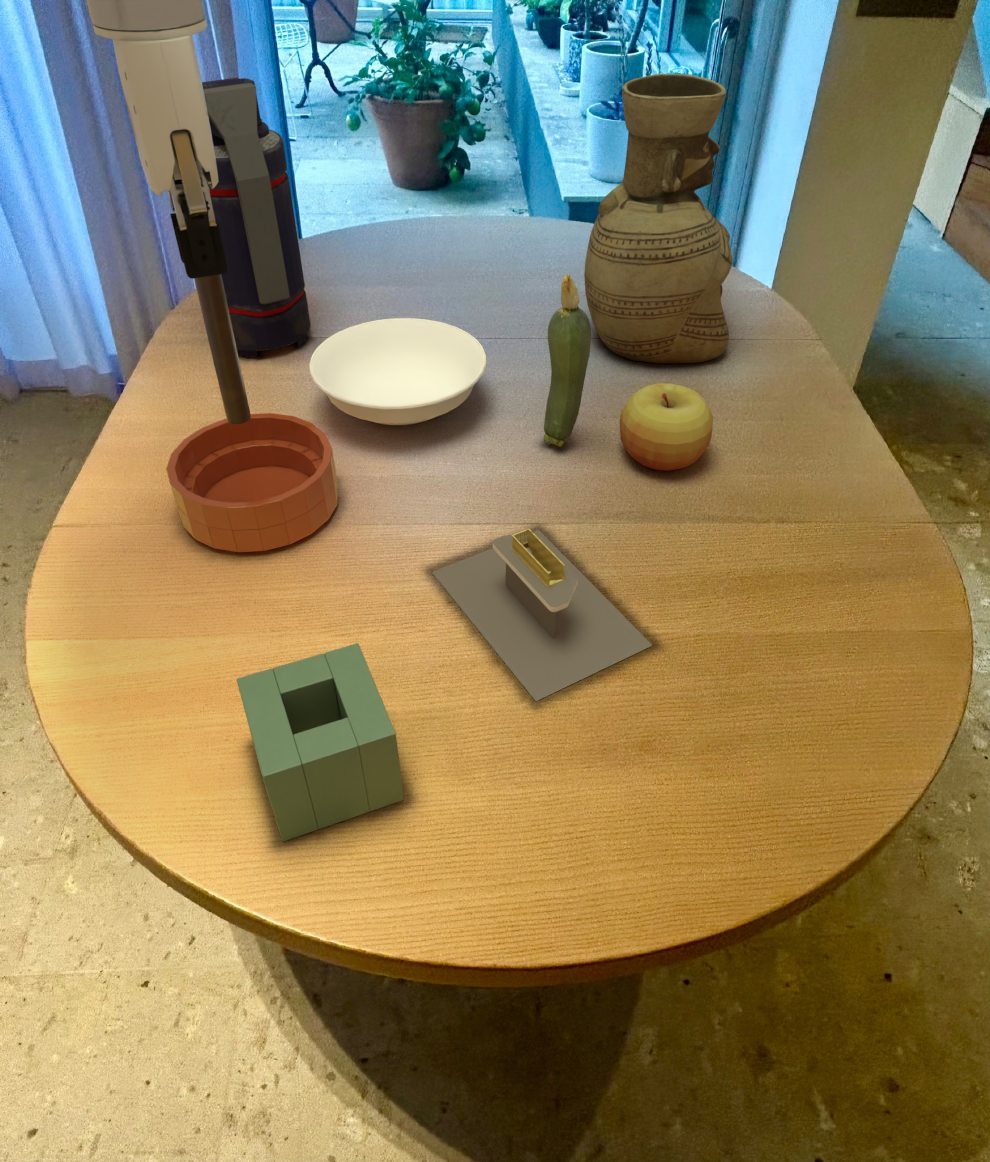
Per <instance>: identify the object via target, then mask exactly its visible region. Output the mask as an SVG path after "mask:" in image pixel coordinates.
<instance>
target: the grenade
mask: <svg viewBox="0 0 990 1162" xmlns="http://www.w3.org/2000/svg"><path fill="white" fill-rule="evenodd" d="M202 85H203V90H204V96H205V101H206V106H207V112H208V117H209V123H210V128H211V134H212V140H213V146H214V152H215V159H216V165H217V172H218V183H217V185H216V186H215V187H214V188H213V189H211V187H210V185H209V184H208V186H209V192H210V197H211V201H212V206H213V211H214V216H215V221H217V222H218V225H219V230H220V235H221V240H222V245H223V250H224V255H225V260H226V264H227V272H226V273H224V274H221V276H222V280H223V285H224V290H225V295H226V299H227V304H228V309H229V314H230V319H231V323H232V328H233V333H234V338H235V342H236V347H237V350H238V353H239V356H241V357H246V358H257V357H258V353H257V352H261V351H271V350H274V349H279V348H283V347H288V346H290V345H292V344H294V343H297V346H298V347H300V346H301V345H303V344H304V343H305V342H306V341H307V339H308V333H309V332H310V330H311V318H310V312H309V311H310V310H309V304H308V297H307V292H306V290H305V288H306V283H305V277H304V270H303V264H302V257H301V250H300V245H299V244H300V243H299V239H298V238H299V237H298V230H297V224H296V217H295V213H294V212H295V210H294V203H293V197H292V191H291V185H290V178H289V177H290V176H289V174H288V173H287V171H288V164H287V158H286V152H285V151H286V150H285V146H284V145H285V144H284V138H283V136H282V135H281V134H280V133H278V132H277V131H275V130H272V129H271V128H269V125H268V124H267V123H266V122H264V121H263V119H262V118H261V113H260V107H259V101H258V100H259V99H258V95H257V86H256V82H255V81H254V80H253V79H249V78H246V77H245V78H241V77H240V78H239V77H229V78H223V79H216V80H208V81H202Z"/></svg>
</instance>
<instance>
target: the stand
mask: <svg viewBox="0 0 990 1162" xmlns="http://www.w3.org/2000/svg"><path fill="white" fill-rule="evenodd" d="M373 677H374V676H373V675H372V672H371V669H370V668H369V666H368V663H367V660H366V658H365V656H364V653H363V650H362V649H361V646H360V644H359V642H357V643H353V644H349V645H346V646H343V647H340V648H335V649H332V650H328V651H326V652H324V653H319V654H316V655H313V656H309V657H305V658H302V659H299V660H296V661H292V662H289V663H285V664H282V665H278V666H275V667H273V668H268V669H265V670H261V671H258V672H255V673H250V674H248V675H244V676H241V677H238V678H236V684H237V687H238V691H239V694H240V698H241V703H242V706H243V710H244V713H245V717H246V721H247V725H248V729H249V732H250V735H251V736H250V737H251V740H252V743H253V747H254V751H255V755H256V759H257V762H258V766H259V770H260V773H261V777H262V781H263V784H264V786H265V787H264V788H265V790H266V793H267V797H268V801H269V803H270V806H271V810H272V812H273V816H274V819H275V823H276V827H277V830H278V832H279V835H280V839H281V841H282V842H286V841H289V840H292V839H294V838H297V837H298V838H299V837H301V836H303V835H304V836H305V835H306V834H309V833H312V832H315V831H317V830H321V829H325V828H328V827H330V826H333V825H335V824H338V823H342V822H345V821H347V820H350V819H353V818H356V817H358V816H362V815H364V814H367V813H370V812H374V811H376V810H379V809H382V808H385V807H388V806H390V805H394V804H396V803H399V802H401V801H404V789H403V783H402V782H403V781H402V774H401V767H400V765H401V764H400V759H399V758H400V757H399V749H398V741H397V734H396V731H395V728H394V726H393V724H392V721H391V719H390V717H389V713H388V712H387V709H386V706H385V704H384V702H383V700H382V697H381V694H380V692H379V690H378V687H377V684H376V682H375V680H374V678H373Z"/></svg>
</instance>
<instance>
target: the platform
mask: <svg viewBox="0 0 990 1162" xmlns="http://www.w3.org/2000/svg"><path fill="white" fill-rule="evenodd" d="M431 574H432V575H433V576H434V577H435V579H436V580H437V581H438V582H439V584H440V585H441V586H442V587H443V588H444V590H445V591H446V592H447V594H448V595H449V596H450V597H451V598H452V600H453V601H454V602H455V603H456V605H457V606H458V607H459V608H460V609H461V611H462V612H463V613H464V615H465V616H466V617H467V618H468V620H469V621H470V622H471V623H472V625H473V626H474V627H475V628H476V629H477V630H478V632H479V633H480V634H481V635H482V637H483V638H484V639H485V640H486V642H487V643H488V644H489V646H490V647H491V648H492V649H493V650H494V652H495V653H496V654H497V655H498V656H499V658H500V659H501V660H502V661H503V663H504V664H505V665H506V666H507V667H508V669H509V670H510V671H511V673H512V674H513V675H514V676H515V677H516V679H517V680H518V681H519V682H520V684H521V686H523V687H524V689H525V690H526V691H527V692H528V693H529V695H530V696H531V698H532V699H533V700H534V701H535V702H539V700H540V701H541V700H542V699H544V698H546V697H549V696H550V695H553V694H554V693H557V692H559V691H561V690H563V689H565V688H567V687H569V686H572V685H573V684H576V683H577V682H579V681H581V680H584V679H586V678H588V677H590V676H593V675H595V674H597V673H598V672H600V671H603V670H604V669H606V668H609V667H611V666H613V665H615V664H617V663H619V662H621V661H623V660H625V659H627V658H630V657H632V656H634V655H636V654H638V653H640V652H642V651H644V650H646V649H649V648H650V647H652V646H653V644H652V643H651V642H650V641H649V640H648V639H647V637H645V636H644V635H643V633H641V631H639V630H638V629H637V628H636V627H635V626H634V625H633V624H632V623H631V622H630V620H628V618H626V617H625V616H624V615H623V614H622V613H621V611H619V609H618V608H616V606H614V605H613V603H612V602H611V601H610V600H609V599H608V598H607V597H605V595H604V594H603V593H601V591H600V590H599V589H598V588H597V587H596V586H595V585H594V584H593V583H592V582H591V581H590V580H589V579H588V578H587V577H586V576H585V575H584V574H583V573H582V572H581V571H580V570H579V569H578V568H577V567H576V566H575V565H574V564H573V563H572V562H571V561H570V560H569V559H568V558H567V557H566V556H565V555H564V554H563V553H562V552H561V551H560V550H559V549H558V548H557V547H556V545H554V544H553V543H552V542H551V540H549V539H548V538H547V537H546V535H544V534H543V532H541V530H540V529H537V530H535V531H532V530H531V529H530V528H526V529H524V530H522V531H518V532H516V533H514V534H507V535H506V534H505V535H502V536H499V537H497V538H495V539H493V540H492V548H489V549H487V550H484V551H481V552H479V553H476V554H474V555H472V556H468V557H466V558H464V559H460V560H459V561H456V562H454V563H451V564H449V565H446V566H443V567H440V568H438V569H436V570H434V571H431Z"/></svg>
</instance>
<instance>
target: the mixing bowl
mask: <svg viewBox="0 0 990 1162" xmlns="http://www.w3.org/2000/svg"><path fill="white" fill-rule="evenodd" d="M250 414H251V418H250V420H249V421H247V422H245V423H242V424H231V423H229V422H228V421H227V418H223V419H220V420H218V421H216V422H213V423H211V424H208V425H205V426H203V427H200V428H199V429H197V430H196V431H195V432H193V433H191V434H190V435H189V436H187V437H186V438H183V440H182V441H181V442H180V443H179V444H178V445H177V446H176V448H175V449H174V450H172V452H171V454H170V455H169V459H168V463H167V465H166V469H165V470H166V473H167V479H168V482H169V485H170V488H171V492H172V495H173V498H174V501H175V505H176V508H177V511H178V514H179V518H180V520H181V523H182V526H183V528H184V529H185V530H186V531H187V532H188V533H189V535H191V536H192V538H193V539H194V540H196V541H198V542H200V543H202V544H204V545H206V546H208V547H211V548H212V549H217V550H222V551H229V552H234V553H248V552H249V553H250V552H264V551H270V550H274V549H278V548H282V547H285V546H290V545H292V544H294V543H297V542H298V541H301V540H302V539H304V538H306V537H308V536H311V535H312V534H313V533H315V531H317V530H319V528H321V526H323V525H324V524H325V523H326V522H327V521H329V519H330V518H331V516H332V514H333V513H334V512H335V509H336V508H337V506H338V500H339V485H338V478H337V471H336V464H335V458H334V452H333V446H332V444H331V441H330V439H329V437H328V436H327V434H326V433H325V431H323V430H322V429H321V428H319V427H318V426H316V425H315V424H314V423H313V422H311V421H308V420H305V419H302V418H299V417H297V416H294V415H287V414H280V413H273V412H269V413H267V412H265V413H250Z"/></svg>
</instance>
